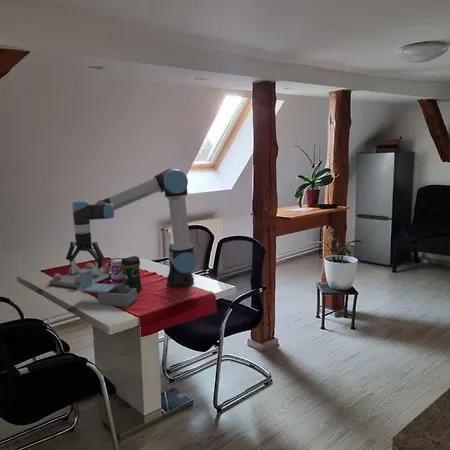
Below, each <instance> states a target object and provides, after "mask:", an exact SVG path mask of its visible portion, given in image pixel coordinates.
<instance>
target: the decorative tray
mask: <svg viewBox="0 0 450 450" xmlns="http://www.w3.org/2000/svg"><path fill="white" fill-rule="evenodd" d="M108 264H109V263H108V262H107V261H105V263H104V265H102V267H101V268H100V271H101V274H99V275H97V274H96V264H95V263H94V264H93V262H89V261H88V263H85V265H84V268H80V267H79V265H77V264H76V271H77V272H76V273H75V274H72V267H71V266H69V268H68V273H67V274H65V275H62V274H61V273H58V272H56V273H53V275H52V279H51V280H49V281H48V283H49V285H52V286H57V287H58V286H60V287H65V288H72V289H76V290H77V289H78V288H80V287H81V286H80V272H81V271H83V270H85V269H91V272H92V283H98V284H99V283H101V282H103V281H106V280H108V279H110V278H109V269H108Z"/></svg>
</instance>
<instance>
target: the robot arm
mask: <svg viewBox="0 0 450 450" xmlns="http://www.w3.org/2000/svg"><path fill="white" fill-rule="evenodd" d="M188 183H189V181H188V177H187V175H186V173H185V172H184V171H183V170H181V169H178V168H174V167H173V168H172V167H171V168H168V169H166V170H163V171H162V172H160V173H158V174H156V175H154V176H153V177H152V178H151V179H149V180H147V181H144V182H141V183H139V184H137V185H135V186H132V187H130V188H128V189H125V190H123V191H121V192H118V193H116V194H113V195H111V196H109V197H106V198H104V199H101V200H98V201H96V202H95V204H89V201H88V200H75V201H74V202H72V217H73V226H74V239H75V241H74V240H72V241H70V243H69V248H68V252H67V254H66V257H65V260H68V262H69V267H72V274H75V273H76V272H77V271H76V265H77V262H76V259H75V258H76V257H77V256H78V254H79V253H80V252H82V251H84V252H88V253H89V254H90V256H92V257H93V259H94V260H95V266H96V274H97V275H99V274H101V271H100V268H101V267H103V265H102V262H103V261H104V260H105V257H104V254H103V253H102V251H101V249H100V247H99V244H98V241H94V242H92V232H91V220H92V221H93V220H108V219H114V218H115V211H116V210H119V209H121V208H123V207H126V206H129V205H131V204H133V203H135V202H139V201H140V200H143V199H145V198H148V197H150V196H152V195H154V194H157V193H160V194H162V193H164V197H165V198H166V199H167V201H168V206H169V213H170V214H169V216H170V224H171V232H172V240H173V243H169V245H168V259H169V263H168V264H169V271H168V274H167V278H166V285H167V286H170V287H174V288H182V287H183V288H184V287H185V288H186V287H189V286H192V285H194V283H195V278H194V276H193V273H192V272H193V270H194V269H195V268H196V266H197V263H198V262H197V257H196V256H195V249H194V248H195V247H194V244H193V243H191V239H190V230H189V229H190V228H189V221H188V213H187V203H186V197H187V196H188ZM75 246H76V247H75ZM74 249H75V250H74Z"/></svg>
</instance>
